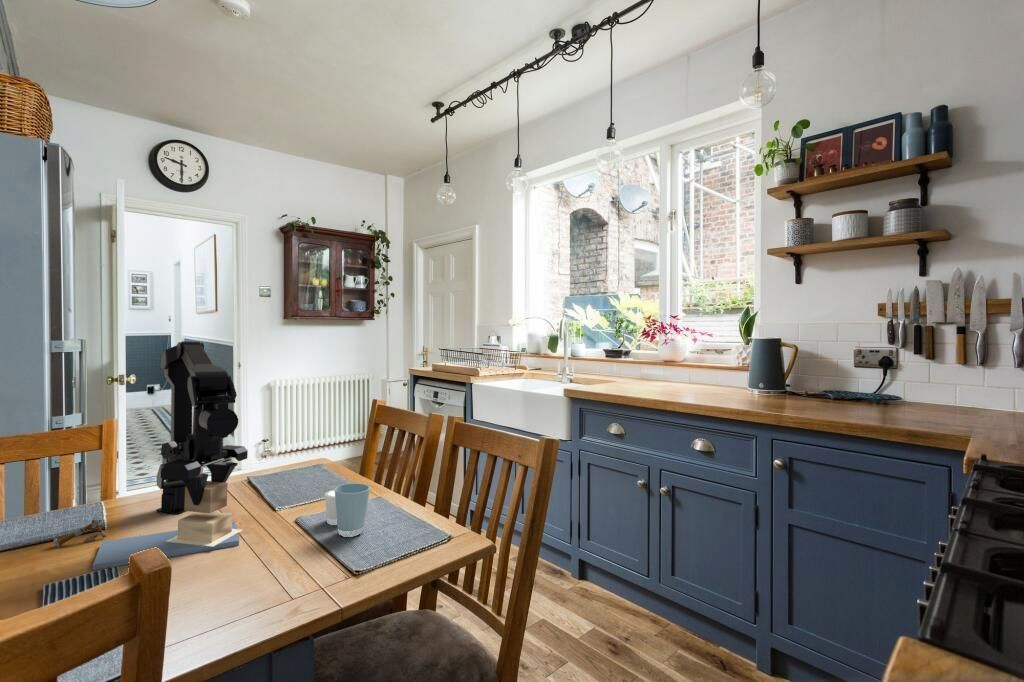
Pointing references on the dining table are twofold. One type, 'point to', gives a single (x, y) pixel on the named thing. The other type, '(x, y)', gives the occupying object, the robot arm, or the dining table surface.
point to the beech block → (204, 526)
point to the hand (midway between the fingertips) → (206, 501)
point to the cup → (351, 505)
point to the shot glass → (330, 504)
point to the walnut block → (208, 498)
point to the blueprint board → (167, 542)
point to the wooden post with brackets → (93, 524)
